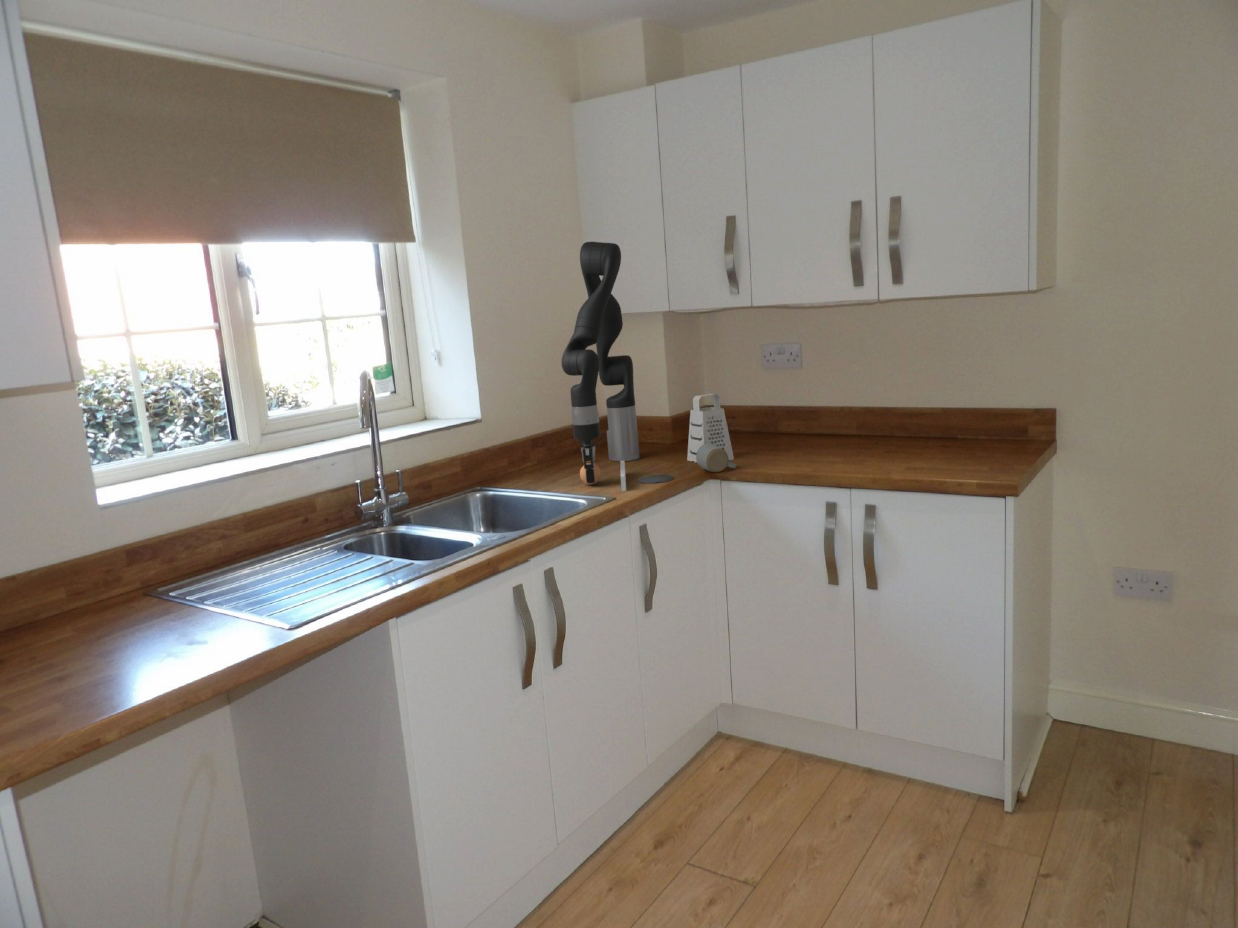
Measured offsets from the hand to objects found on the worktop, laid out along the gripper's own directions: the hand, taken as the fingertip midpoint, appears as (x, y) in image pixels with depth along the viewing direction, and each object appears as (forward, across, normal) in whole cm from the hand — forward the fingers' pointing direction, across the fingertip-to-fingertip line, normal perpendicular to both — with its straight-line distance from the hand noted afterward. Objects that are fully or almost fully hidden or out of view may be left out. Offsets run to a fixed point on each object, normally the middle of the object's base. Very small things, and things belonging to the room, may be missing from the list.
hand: (591, 480), depth 253 cm
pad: (+1, 0, -18) cm, 18 cm away
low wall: (+1, 0, -9) cm, 9 cm away
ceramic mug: (+2, +7, -36) cm, 37 cm away
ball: (-2, 0, 0) cm, 2 cm away
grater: (+2, +24, -36) cm, 43 cm away
